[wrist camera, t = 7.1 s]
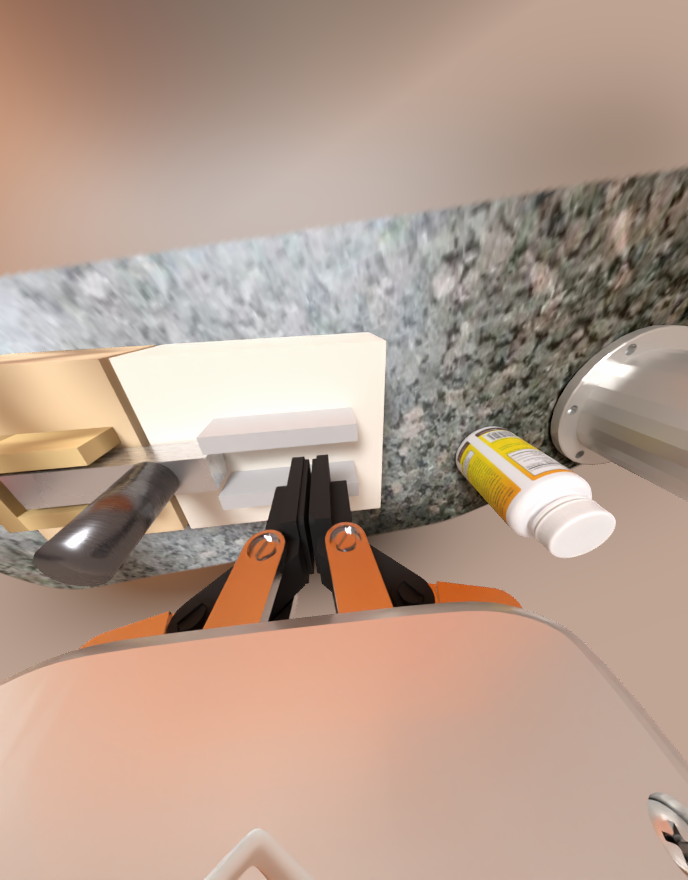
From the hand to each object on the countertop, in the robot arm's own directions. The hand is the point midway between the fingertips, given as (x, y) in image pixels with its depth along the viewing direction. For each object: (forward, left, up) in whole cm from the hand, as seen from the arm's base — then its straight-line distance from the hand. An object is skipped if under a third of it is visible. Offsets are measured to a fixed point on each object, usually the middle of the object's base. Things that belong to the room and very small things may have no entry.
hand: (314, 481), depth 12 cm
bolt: (+11, +1, -4) cm, 11 cm away
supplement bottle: (-15, +5, -10) cm, 19 cm away
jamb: (+15, 0, -9) cm, 17 cm away
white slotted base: (+3, 0, -9) cm, 10 cm away
